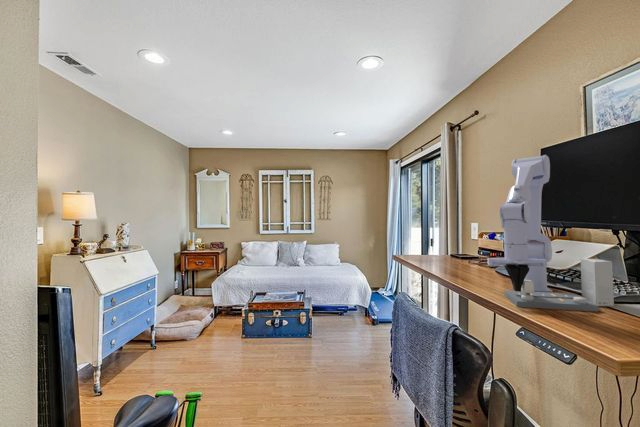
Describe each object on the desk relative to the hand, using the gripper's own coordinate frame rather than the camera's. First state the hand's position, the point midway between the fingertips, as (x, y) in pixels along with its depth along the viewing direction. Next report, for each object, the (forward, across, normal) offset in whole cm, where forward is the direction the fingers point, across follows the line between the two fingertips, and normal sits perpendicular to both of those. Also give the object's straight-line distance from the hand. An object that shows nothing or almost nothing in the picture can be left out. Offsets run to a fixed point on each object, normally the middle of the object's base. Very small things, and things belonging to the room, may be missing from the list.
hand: (517, 290), depth 86 cm
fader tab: (+1, +3, 0) cm, 3 cm away
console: (+3, +7, 0) cm, 8 cm away
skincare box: (+3, +20, +2) cm, 20 cm away
